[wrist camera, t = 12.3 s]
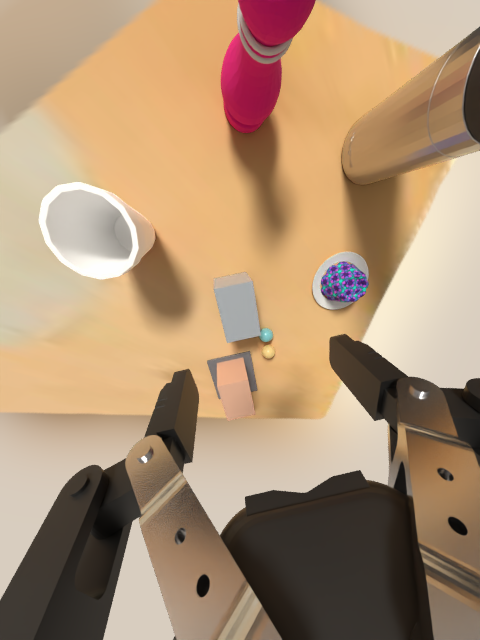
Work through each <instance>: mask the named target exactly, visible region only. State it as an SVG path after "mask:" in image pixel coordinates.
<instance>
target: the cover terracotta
mask: <svg viewBox="0 0 480 640" xmlns="http://www.w3.org/2000/svg"><path fill="white" fill-rule="evenodd" d="M217 388H218V391H219V394H220V398H221V401H222V404H223V407H224V411H225V414H226V417H227V420H228V421H229V420H233V419H237V418H242V417H246V416H250V415H255V410H254V405H253V400H252V395H251V391H250V386H249V381H248V377H247V372H246V368H245V363H244V359H243V357H242V358H238V359H233V360H229V361H224V362H220V363H217Z"/></svg>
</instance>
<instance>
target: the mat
mask: <svg viewBox="0 0 480 640" xmlns="http://www.w3.org/2000/svg"><path fill="white" fill-rule="evenodd" d="M242 357H243V359H244V363H245V368H246V372H247V377H248V381H249V386H250V391H251V392H253V391H257V386H256V381H255V375H254V370H253V365H252V360H251V354H250V351H248V352H244V353H239V354H235V355H230V356H226V357H221V358H217V359H212V360H208V361H207V363H208V366H209V369H210V372H211V376H212V379H213V382H214V385H215V388H216V391H217V395H218V398H219V399H221V398H220V394H219V391H218V388H217V363H220V362H224V361H229V360H233V359H238V358H242Z"/></svg>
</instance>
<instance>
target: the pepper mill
mask: <svg viewBox="0 0 480 640" xmlns="http://www.w3.org/2000/svg"><path fill="white" fill-rule="evenodd" d="M315 1H316V0H238V8H237V24H238V30H239V33H238V34H237V35H236V36H235V37H234V39H233V40H232V42H231V43H230V45H229V47H228V49H227V52H226V54H225V57H224V61H223V66H222V72H221V90H222V95H223V100H224V110H225V114H226V117H227V119H228V121H229V123H230V124H231V125H232V126H233V127H234V129H236V130H237V131H239V132H242V133H251V132H254V131H255V130H257V129H258V128H259V127H260V126H261V124H262V123H263V121H264V120H265V119H266V118H267V117H268V116H269V115H270V114H271V112H272V110H273V109H274V107H275V105H276V102H277V99H278V96H279V92H280V88H281V74H282V68H281V59H280V58H281V57H282V56H283V55H284V54H285V53H286V51H287V50H288V48H289V46H290V44H291V41H292V39H293V37H294V36H295V35H296V34H297V33H298V32H299V31H300V30H301V28H302V27H303V25H304V24H305V22H306V20H307V19H308V17H309V15H310V13H311V11H312V9H313V7H314V4H315Z"/></svg>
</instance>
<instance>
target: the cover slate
mask: <svg viewBox="0 0 480 640" xmlns="http://www.w3.org/2000/svg"><path fill="white" fill-rule="evenodd" d="M214 292H215V296H216V300H217V304H218V308H219V312H220V316H221V320H222V324H223V329H224V333H225V337H226V341H227V343H229V342H234V341H238V340H243V339H247V338H252V337H256V336H261V332H260V325H259V319H258V313H257V306H256V300H255V293H254V287H253V281H252V280H251V278H250V277H249V276H248V274H247V273H246V272H243V273H238V274H233V275H228V276H224V277H219V278H214Z"/></svg>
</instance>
